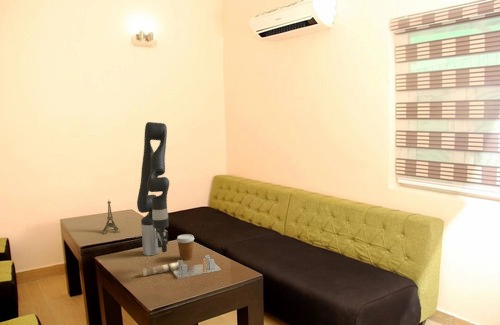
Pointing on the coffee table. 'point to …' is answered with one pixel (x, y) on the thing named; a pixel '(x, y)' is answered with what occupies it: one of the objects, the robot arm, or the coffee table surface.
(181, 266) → the white peg stand
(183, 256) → the disposable coffee cup
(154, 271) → the dowel
